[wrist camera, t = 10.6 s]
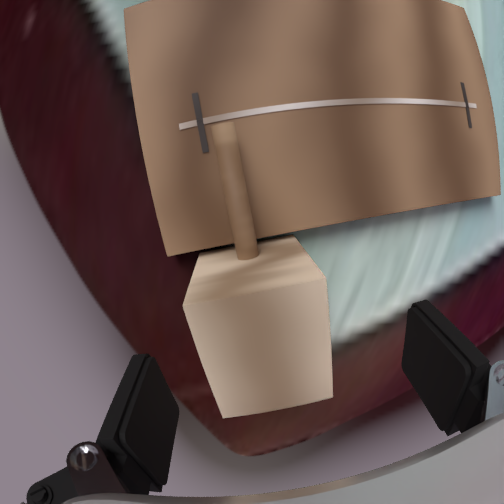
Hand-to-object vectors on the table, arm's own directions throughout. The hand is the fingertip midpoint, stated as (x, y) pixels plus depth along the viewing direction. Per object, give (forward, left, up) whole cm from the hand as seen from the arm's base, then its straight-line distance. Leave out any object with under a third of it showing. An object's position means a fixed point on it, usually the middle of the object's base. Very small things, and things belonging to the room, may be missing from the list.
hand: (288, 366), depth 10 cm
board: (-6, -10, -7) cm, 14 cm away
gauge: (+1, -3, -7) cm, 8 cm away
